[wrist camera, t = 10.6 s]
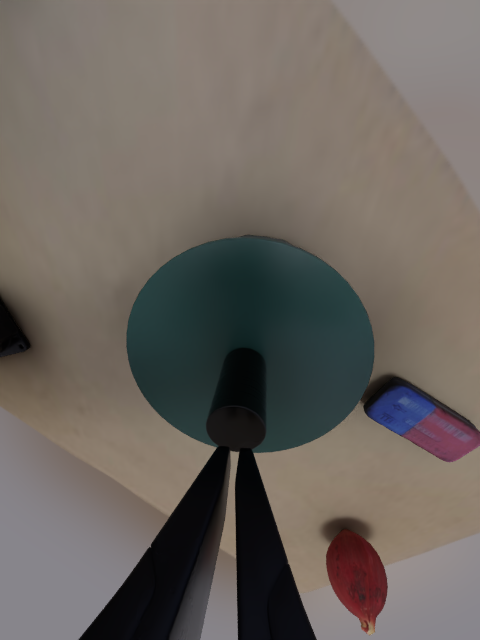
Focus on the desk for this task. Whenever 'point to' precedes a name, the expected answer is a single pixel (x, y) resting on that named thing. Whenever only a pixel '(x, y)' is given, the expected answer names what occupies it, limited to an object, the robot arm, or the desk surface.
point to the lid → (250, 344)
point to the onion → (357, 577)
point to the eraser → (422, 420)
